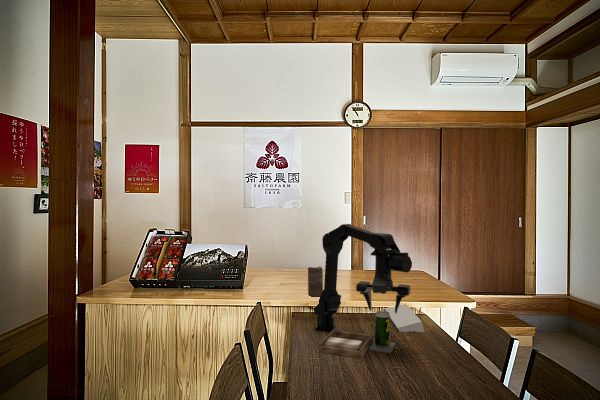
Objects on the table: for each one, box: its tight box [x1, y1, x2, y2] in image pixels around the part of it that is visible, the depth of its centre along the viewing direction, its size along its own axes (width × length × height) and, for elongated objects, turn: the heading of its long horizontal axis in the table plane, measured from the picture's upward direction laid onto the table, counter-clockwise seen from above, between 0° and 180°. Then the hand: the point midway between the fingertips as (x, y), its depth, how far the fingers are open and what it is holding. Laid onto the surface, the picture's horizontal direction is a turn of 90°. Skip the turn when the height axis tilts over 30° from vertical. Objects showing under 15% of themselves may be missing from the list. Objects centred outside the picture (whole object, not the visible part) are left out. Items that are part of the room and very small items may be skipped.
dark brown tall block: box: [307, 266, 324, 297], centre depth 217 cm, size 8×7×20 cm
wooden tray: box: [318, 327, 375, 359], centre depth 163 cm, size 15×20×3 cm
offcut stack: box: [325, 337, 363, 351], centre depth 158 cm, size 13×5×4 cm, turn 69°
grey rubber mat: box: [368, 340, 396, 354], centre depth 162 cm, size 8×10×1 cm
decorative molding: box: [383, 303, 425, 333], centre depth 197 cm, size 34×5×10 cm
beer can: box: [374, 310, 391, 348], centre depth 162 cm, size 5×5×12 cm
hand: (382, 311), depth 162 cm, fingers open, 9 cm apart
